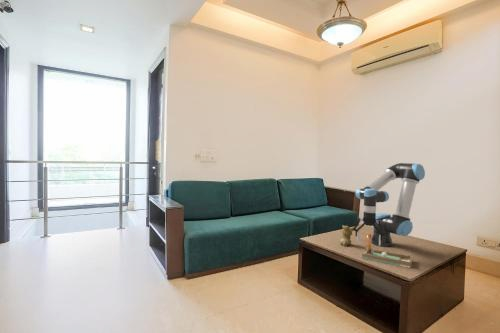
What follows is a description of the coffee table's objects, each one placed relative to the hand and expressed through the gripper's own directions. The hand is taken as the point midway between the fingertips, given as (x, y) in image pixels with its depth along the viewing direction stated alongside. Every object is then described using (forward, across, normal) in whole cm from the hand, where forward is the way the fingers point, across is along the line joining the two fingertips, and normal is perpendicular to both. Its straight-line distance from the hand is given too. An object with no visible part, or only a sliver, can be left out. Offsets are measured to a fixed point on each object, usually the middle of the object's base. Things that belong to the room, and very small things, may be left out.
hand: (368, 243), depth 180 cm
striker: (+7, +1, 0) cm, 8 cm away
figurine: (+9, -18, +16) cm, 26 cm away
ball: (+6, +10, 0) cm, 11 cm away
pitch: (+9, +11, 0) cm, 14 cm away
